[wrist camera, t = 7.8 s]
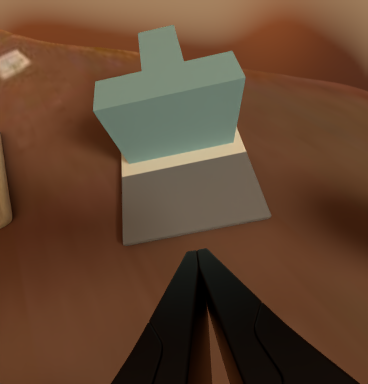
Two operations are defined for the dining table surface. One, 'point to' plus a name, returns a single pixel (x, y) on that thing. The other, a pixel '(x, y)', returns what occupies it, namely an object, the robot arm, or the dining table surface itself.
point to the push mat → (190, 193)
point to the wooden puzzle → (4, 192)
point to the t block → (170, 100)
